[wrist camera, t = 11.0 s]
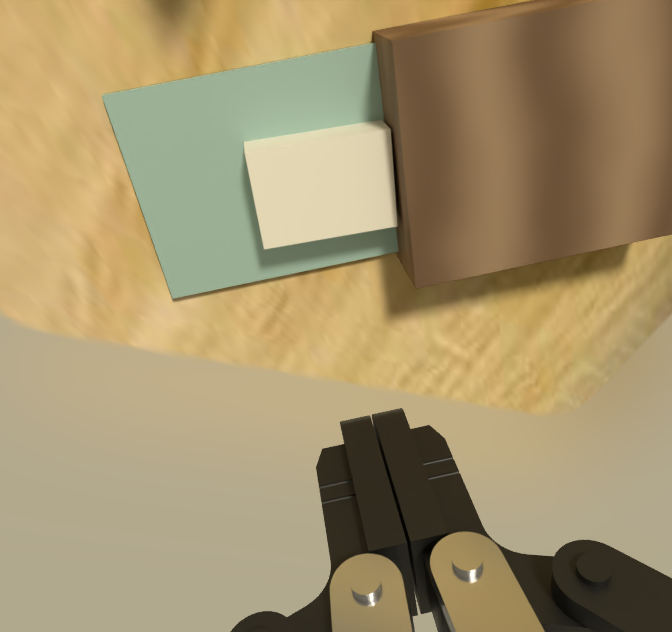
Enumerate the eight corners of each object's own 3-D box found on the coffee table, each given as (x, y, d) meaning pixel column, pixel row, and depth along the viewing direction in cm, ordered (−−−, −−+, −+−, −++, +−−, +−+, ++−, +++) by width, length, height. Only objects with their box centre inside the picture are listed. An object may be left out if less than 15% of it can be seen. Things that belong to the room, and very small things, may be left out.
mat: (374, 42, 28) (375, 43, 28) (397, 248, 34) (398, 251, 34) (103, 94, 28) (101, 96, 28) (173, 295, 34) (172, 298, 33)
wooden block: (673, -27, 29) (732, -25, 26) (644, 204, 35) (688, 230, 32) (372, 31, 28) (392, 40, 25) (397, 256, 35) (415, 288, 31)
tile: (381, 119, 30) (390, 129, 28) (388, 212, 33) (397, 226, 31) (243, 142, 30) (244, 153, 28) (262, 234, 32) (264, 249, 30)
